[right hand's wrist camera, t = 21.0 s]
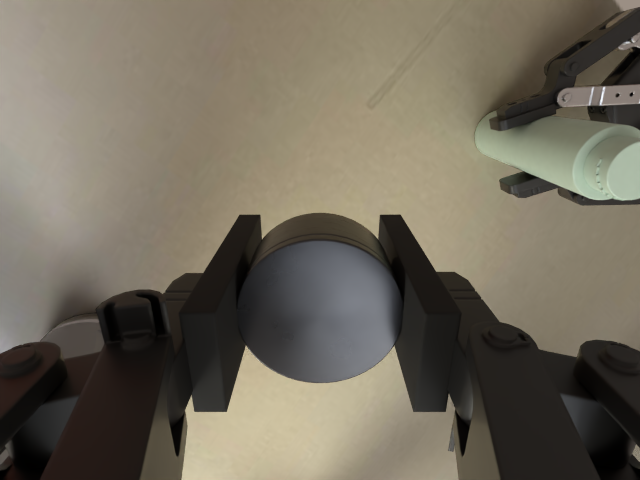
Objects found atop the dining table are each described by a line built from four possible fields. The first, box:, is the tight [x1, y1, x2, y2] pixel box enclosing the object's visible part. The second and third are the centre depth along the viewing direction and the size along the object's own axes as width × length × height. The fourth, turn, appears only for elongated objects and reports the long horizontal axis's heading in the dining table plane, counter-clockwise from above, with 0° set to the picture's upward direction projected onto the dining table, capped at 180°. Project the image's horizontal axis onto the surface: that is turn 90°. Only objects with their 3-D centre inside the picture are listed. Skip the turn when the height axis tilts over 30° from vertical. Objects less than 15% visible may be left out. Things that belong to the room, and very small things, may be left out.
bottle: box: [475, 111, 640, 201], centre depth 26 cm, size 4×4×16 cm
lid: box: [236, 213, 404, 383], centre depth 11 cm, size 4×4×2 cm
